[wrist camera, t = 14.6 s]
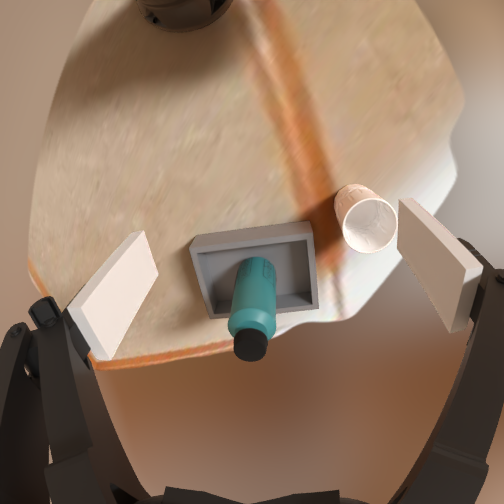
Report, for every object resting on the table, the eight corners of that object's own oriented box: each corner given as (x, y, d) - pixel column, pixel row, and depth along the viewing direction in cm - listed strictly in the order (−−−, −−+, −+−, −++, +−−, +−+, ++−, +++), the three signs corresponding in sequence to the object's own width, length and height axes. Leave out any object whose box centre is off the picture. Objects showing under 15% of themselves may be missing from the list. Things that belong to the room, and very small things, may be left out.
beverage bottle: (234, 254, 51) (213, 335, 34) (273, 247, 50) (271, 328, 33) (243, 286, 54) (228, 372, 36) (280, 281, 53) (281, 367, 35)
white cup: (382, 215, 48) (403, 240, 39) (340, 233, 50) (353, 262, 41) (366, 172, 45) (388, 189, 36) (322, 191, 47) (333, 212, 38)
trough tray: (196, 235, 52) (188, 248, 47) (309, 220, 49) (312, 232, 44) (214, 302, 58) (209, 319, 53) (315, 292, 55) (318, 308, 51)
